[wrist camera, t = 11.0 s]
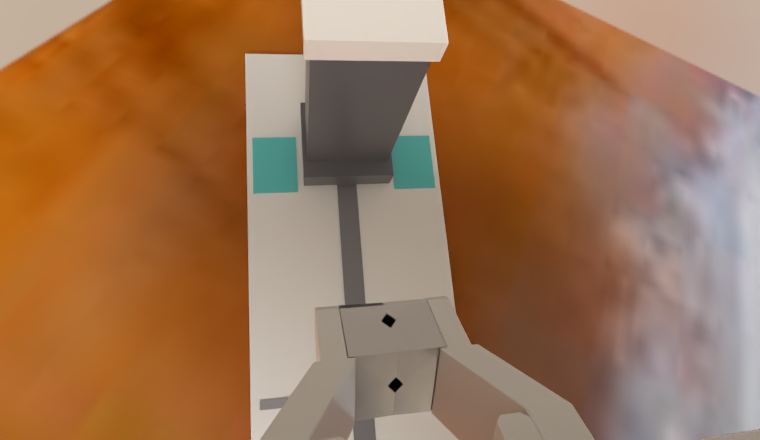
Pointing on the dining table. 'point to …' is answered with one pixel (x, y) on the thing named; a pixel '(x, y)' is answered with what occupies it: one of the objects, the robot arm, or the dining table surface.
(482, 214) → the dining table surface
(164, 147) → the dining table surface
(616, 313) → the dining table surface
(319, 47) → the fader tab
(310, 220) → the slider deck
